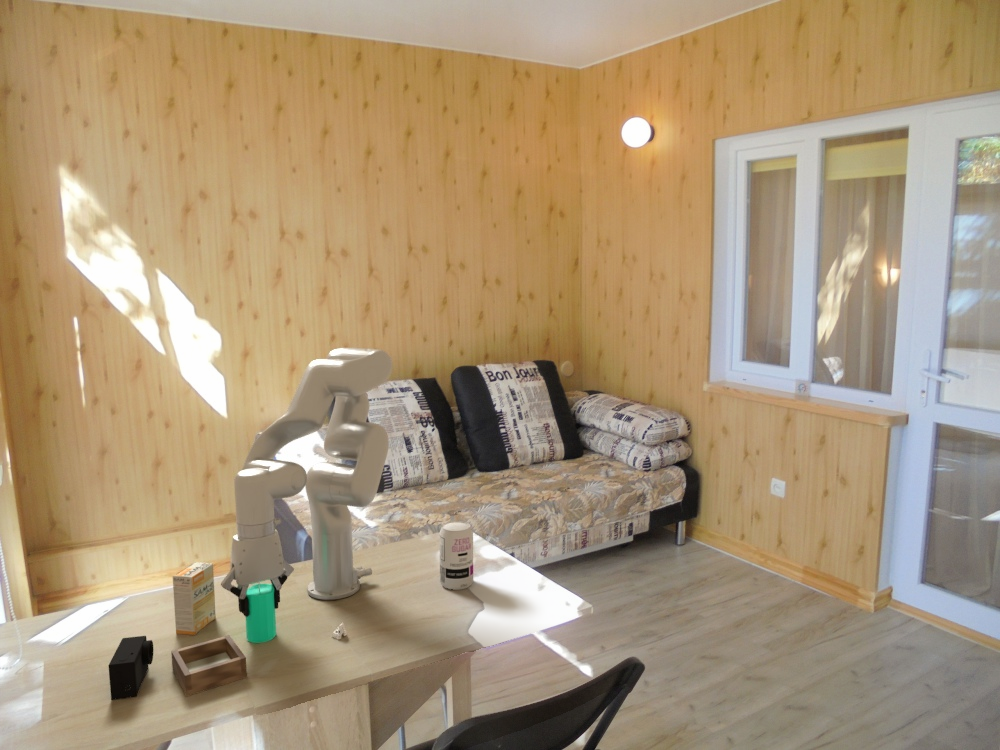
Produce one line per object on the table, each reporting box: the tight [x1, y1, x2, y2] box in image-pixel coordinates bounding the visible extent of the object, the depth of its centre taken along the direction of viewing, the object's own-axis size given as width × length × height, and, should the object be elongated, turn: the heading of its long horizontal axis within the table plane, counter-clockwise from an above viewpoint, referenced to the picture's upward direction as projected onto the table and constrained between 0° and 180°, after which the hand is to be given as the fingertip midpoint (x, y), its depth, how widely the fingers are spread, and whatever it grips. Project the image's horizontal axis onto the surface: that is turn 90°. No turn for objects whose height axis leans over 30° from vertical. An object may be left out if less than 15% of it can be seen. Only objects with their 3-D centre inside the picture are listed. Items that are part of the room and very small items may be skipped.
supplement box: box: [172, 561, 217, 636], centre depth 162 cm, size 8×5×13 cm, turn 168°
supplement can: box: [439, 520, 474, 591], centre depth 183 cm, size 8×8×15 cm
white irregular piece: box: [331, 622, 348, 640], centre depth 158 cm, size 3×3×3 cm
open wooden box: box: [171, 634, 248, 697], centre depth 143 cm, size 11×11×4 cm
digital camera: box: [108, 635, 154, 701], centre depth 140 cm, size 10×5×7 cm, turn 14°
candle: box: [245, 582, 277, 644], centre depth 157 cm, size 6×6×12 cm
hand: (259, 609), depth 157 cm, fingers closed on candle, 5 cm apart
